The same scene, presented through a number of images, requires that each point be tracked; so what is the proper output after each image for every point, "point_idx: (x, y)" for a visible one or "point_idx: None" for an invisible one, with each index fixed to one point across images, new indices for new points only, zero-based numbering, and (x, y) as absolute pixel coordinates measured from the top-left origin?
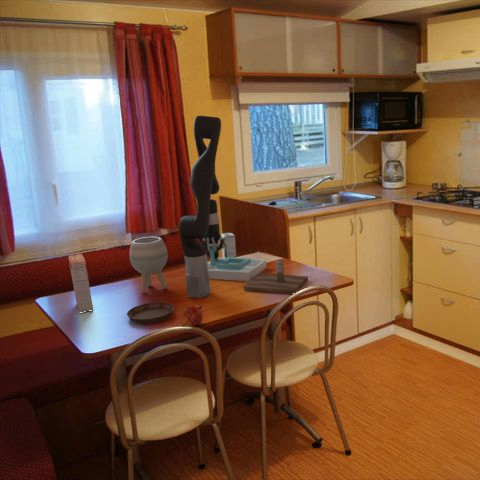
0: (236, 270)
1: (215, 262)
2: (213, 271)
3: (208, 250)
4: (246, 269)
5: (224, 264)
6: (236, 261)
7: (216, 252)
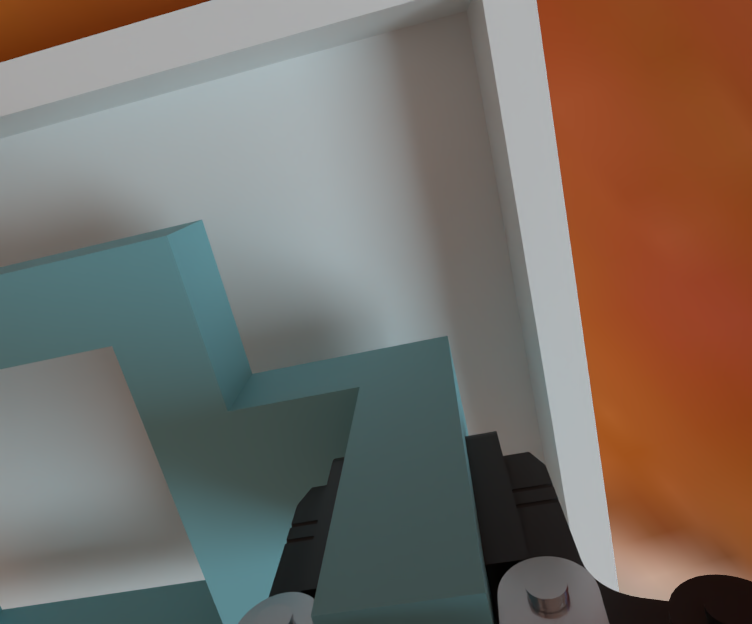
0: (106, 458)
1: (338, 386)
2: (112, 33)
3: (565, 574)
4: (24, 534)
5: (11, 311)
6: (122, 611)
7: (295, 588)
